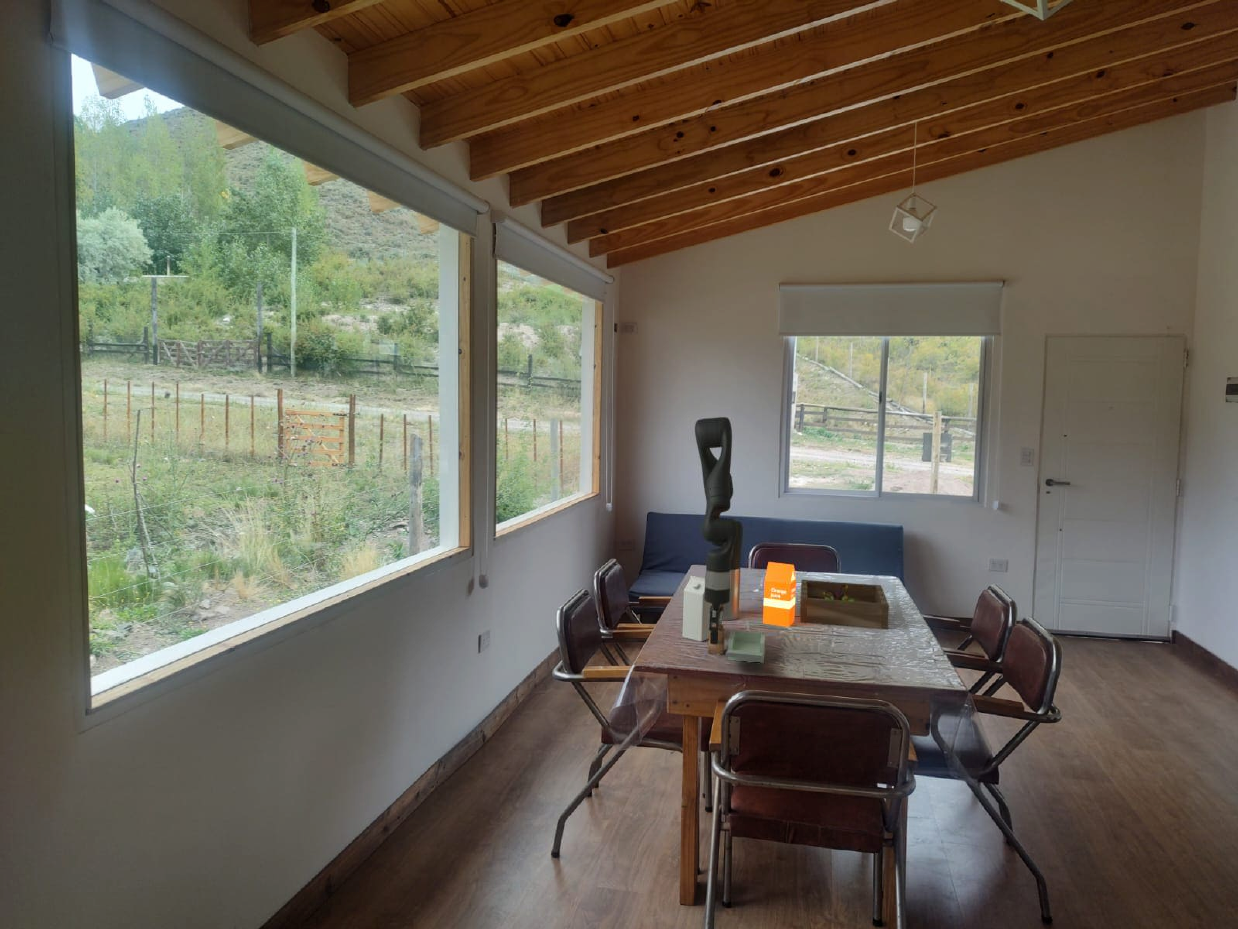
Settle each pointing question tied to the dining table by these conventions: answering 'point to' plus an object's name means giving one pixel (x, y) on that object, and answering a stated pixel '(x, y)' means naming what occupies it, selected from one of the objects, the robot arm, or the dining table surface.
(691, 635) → the milk carton
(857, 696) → the dining table surface
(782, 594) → the orange juice
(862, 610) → the planter frame
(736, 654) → the panel
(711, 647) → the brown ridged cylinder
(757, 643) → the crate
